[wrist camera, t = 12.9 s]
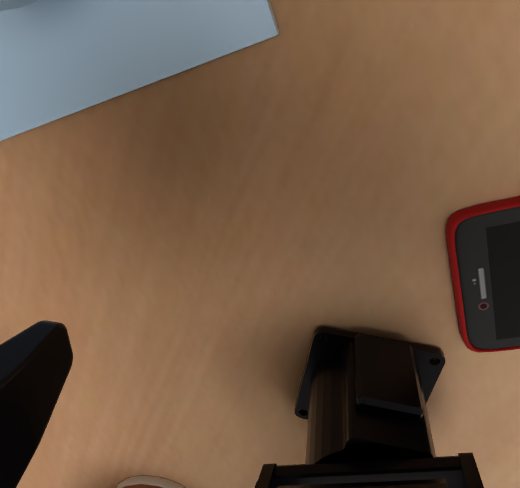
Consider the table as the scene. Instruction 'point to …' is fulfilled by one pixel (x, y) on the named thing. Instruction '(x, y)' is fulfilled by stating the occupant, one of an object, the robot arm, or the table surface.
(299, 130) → the table surface
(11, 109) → the tub lid
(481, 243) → the cell phone
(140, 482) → the coffee cup
